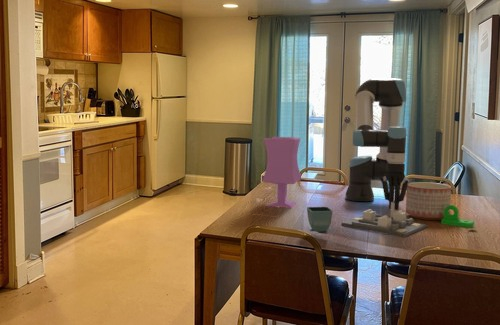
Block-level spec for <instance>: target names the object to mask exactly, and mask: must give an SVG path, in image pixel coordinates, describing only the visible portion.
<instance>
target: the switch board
mask: <svg viewBox="0 0 500 325" xmlns="http://www.w3.org/2000/svg"><path fill="white" fill-rule="evenodd" d="M382 216H384V215H383V214H376V215H375V221H372V220H366V219H363V215H361V216H358V217H355V218H354V217H353V218H352V219H348V220H346V221H342V222H341V223H340V224H341V226H344V227H347V228H349V227H350V228H354V229H358V230H359V229H360V230H365V231H370V232H373V233H374V232H375V233H381V234H387V235H389V236H390V235H391V236H396V237H401V238H405V237H407V236H410V235H412V234H414V233H415V234H416V233H417V232H419V231H421V230H423V229H425V228H428V224H425V223H420V222H414V218H413V217H410V218H408V219H407V218H406V221H396V220H393V217H391V215H390V216H389V215H387V217H389V218H392V219H391V228H388V227H382V226H378V218H379V217H382Z"/></svg>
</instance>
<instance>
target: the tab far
mask: <svg viewBox="0 0 500 325" xmlns="http://www.w3.org/2000/svg"><path fill="white" fill-rule="evenodd" d="M406 219H407V213H406V211H405V212H403V210H397V212H394V213H393V220H396V221H406Z"/></svg>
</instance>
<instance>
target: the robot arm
mask: <svg viewBox="0 0 500 325" xmlns="http://www.w3.org/2000/svg"><path fill="white" fill-rule="evenodd" d="M354 101H355V103H356V129H354V130H352V141H351V142H352V146H354V147H361V148H373V147H374V148H375V147H376V148H377V147H378V148H379V153H377V154H376V158H373V156H372V155H359V156H354V157H352V158H350V159H349V166H348V168H349V174H348V175H349V176H348V179H349V180H348V186H347V189H346V192H345V196H344V197H345V199H346V200H349V201H354V202H355V201H356V202H371V201H374V200H375V193H374V191H373V188H372V181H380V182H381V184H382V190H383V195H384V200H385V201H388V209H389V210H390V217H393V213H394V212H397V211H399V209H400V202H404V200H405V196H406V194H407V186H408V184H409V183H411V180H410V179H408V178H407V177H406V175H405V171H406V170H405V167H406V165H405V162H406V143H407V135H408V134H407V128H406V127H405V126H399V116H400V109H401V108H402V107H403V105H404V104H403V103H405V102H406V101H407V90H406V82H405V80H403V78H395V77H394V78H371V79H368V80H366V81H364V82H363V83H362V84H360V86H359V87H358V88H357V89H356V92H355V95H354ZM377 102H378V106H379V107H380V108H381V113H380V116H381V117H380V130H379V129H378V130H377V129H374V107H373V106H374V103H377ZM402 183H403V184H402ZM401 184H402V185H401Z"/></svg>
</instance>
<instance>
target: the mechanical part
mask: <svg viewBox="0 0 500 325" xmlns="http://www.w3.org/2000/svg"><path fill="white" fill-rule="evenodd" d="M449 209H450V210H452V211H453V214H451V213H450V214H449ZM440 221H441V223H440V224H441V225H447V226H455V227H461V228H473V227H474V226H475V221H474V220H466V219H462V218H461V219H460V218H459V208H458V207H457V206H456V205H454V204H450V205H449V206H447V207H446V208H445V210H444V219H442V220H440Z"/></svg>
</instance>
